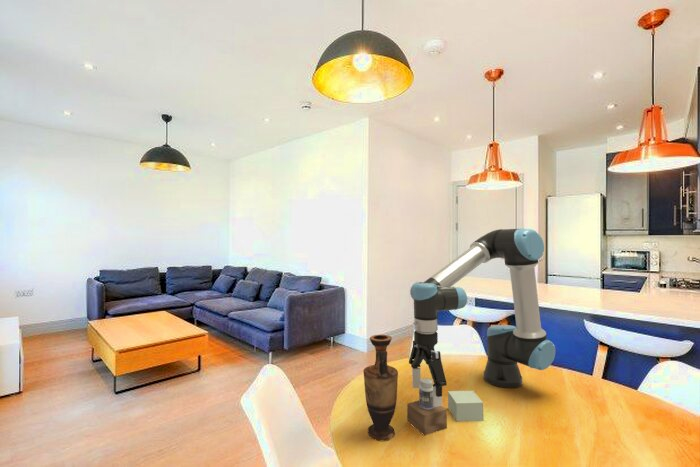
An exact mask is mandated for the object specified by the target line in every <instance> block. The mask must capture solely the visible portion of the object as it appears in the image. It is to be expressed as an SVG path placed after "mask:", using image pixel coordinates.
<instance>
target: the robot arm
mask: <svg viewBox="0 0 700 467" xmlns="http://www.w3.org/2000/svg"><path fill="white" fill-rule="evenodd" d="M544 252H545V243H544V240H543V238H542V236H541V234H539V233H538V231H536V230H534V229H532V228H524V227H523V228H509V229H508V228H507V229H502V228H501V229H495V230H492V231H489V232H487V233H486V234H484V235H482V236H480V237H479V238H477V239H476V240H475V241H473V242H472V243H470V245H469V248H468V249H467V250H465V251H463V253H461V254H460V255H458V256H457V257H455V259H453V260H452V261H450V262H449V263H448V264H446V265H445V266H444V267H442V268H441V269H439V270H438V271H436V273H434V274H433V275H432V276H430V277H428V279H426V280H424V281H423V282H422V281H420V282H418V281H417V282H414V283H413V284H412V285H411V287H410V290H409V292H410V296H411V298H412V300H413V328H414V332H413V337H414V338H413V341H412V348H411V352H410V356H409V360H408V364H409V365H411V366H410V367H411V368H412V370H411V372H412V389H419V387H420V380H421V379H422V378H421V373H422V372H421V364H422V362H423V360H424V362H425V363H426V365H427V366H428V369H429V372H430V374H431V378H432V381H433V406H434V407H437V406H442V407H443V387H445V386H447V385H448V383H447V379H446V374H445V372H444V366H443V362H442V359H441V358H442V357H441V354H442V353H441V351H440V350H439V351H436V350H435V346H436V345H437V344H438V342H439V340H438V335H439V334H438V329H439V327H438V312H439V313H440V312H445V311H453V310H454V311H456V310H460V309H463V308H465V307H466V305H467V303H468V296H467V292H466V291H465V289H464V288H462V287H460V286H454V285H456V284H457V283H458V282H459V281H461V280H462V279H463V278H464V277H466V276H468V274H469V273H471V272H473V270H475V269H476V268H477V267H479V266H480V265H481V264H486V263H488V262H489V261H491V260H493V259H500V258H501V259H504V265H505V266H506V267H507V268H509V274H510V282H511V291H512V299H513V301H512V302H513V307H514V308H513V309H514V317H515V325H509V324H498V325H490V326H489V327H488V328H487V330H486V331H487V332H486V348H487V349H486V350H487V351H486V352H487V359H486V360H487V362H486V364H485V368H484V370H483V380H484V381H485V382H486V383H488V384H491V386H492V385H493V386H496V387H499V388H500V387H501V388H504V389H505V388H506V389H508V388H509V389H512V388H513V389H514V388H519V387H521V386H523V377H522V374H521V371H520V367H519V365H518V364H521V365H523V366H526V367H529V368H530V369H535V370H538V371H544V370H546V369H548V368H549V367H551V365H552V364H553V362H554V360H555V357H556V345H555V344H554V343H553V342H552V341H551V340H549V339H548V338H547V336H548V335H547V331H546V330H544V329H543V328H542V324H541V316H540V314H541V313H540V305H539V298H538V288H537V280H536V279H537V278H536V270H535V267H536V266H538V264H539V260H540V259H541V258H542V257H543V255H544Z"/></svg>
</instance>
